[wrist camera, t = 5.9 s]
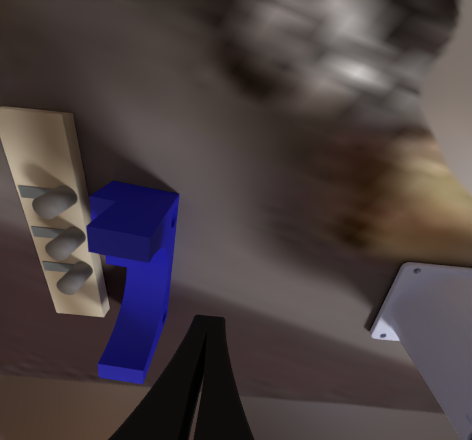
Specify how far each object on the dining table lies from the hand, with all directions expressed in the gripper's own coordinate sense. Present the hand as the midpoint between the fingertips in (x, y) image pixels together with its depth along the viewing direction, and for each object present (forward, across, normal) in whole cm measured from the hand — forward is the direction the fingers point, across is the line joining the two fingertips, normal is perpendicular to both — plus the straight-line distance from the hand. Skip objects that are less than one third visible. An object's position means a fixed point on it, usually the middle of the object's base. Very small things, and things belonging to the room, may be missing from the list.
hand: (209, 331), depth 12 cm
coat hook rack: (+8, +12, 0) cm, 14 cm away
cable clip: (+8, +6, +2) cm, 11 cm away
